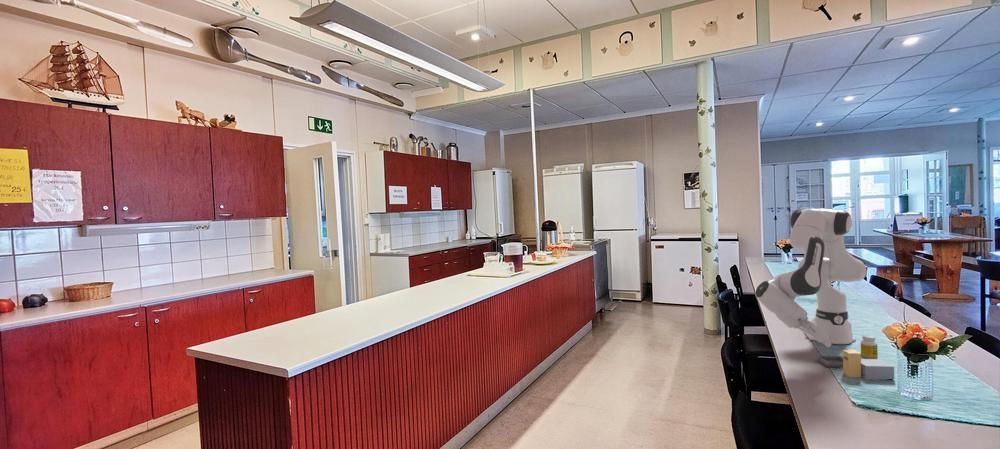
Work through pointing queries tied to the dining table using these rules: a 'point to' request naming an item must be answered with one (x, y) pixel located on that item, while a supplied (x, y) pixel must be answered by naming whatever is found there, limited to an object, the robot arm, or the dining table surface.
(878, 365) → the block
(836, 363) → the dish
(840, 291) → the robot arm
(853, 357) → the stub
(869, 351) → the supplement bottle
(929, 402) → the dining table surface
